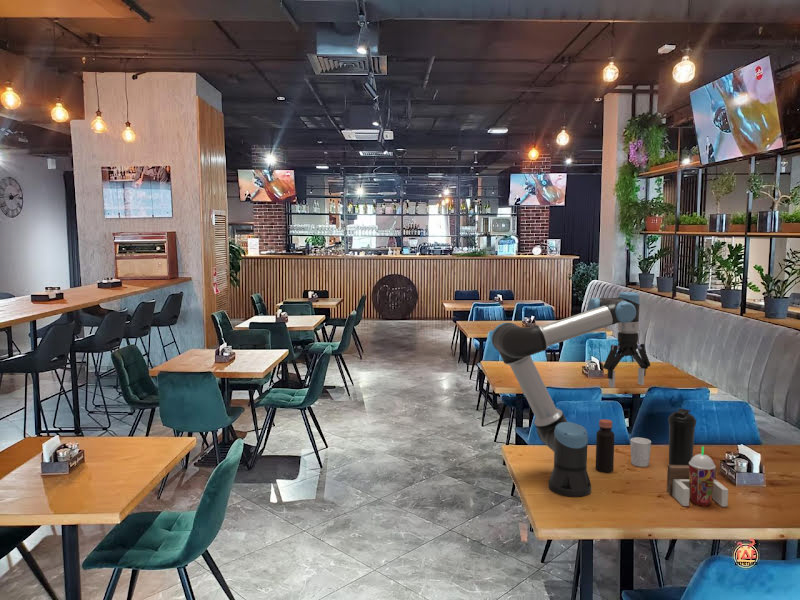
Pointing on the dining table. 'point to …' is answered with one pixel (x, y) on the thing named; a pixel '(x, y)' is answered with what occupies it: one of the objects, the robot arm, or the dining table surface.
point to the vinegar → (605, 447)
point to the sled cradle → (683, 492)
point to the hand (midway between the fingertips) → (626, 385)
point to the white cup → (640, 451)
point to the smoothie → (701, 478)
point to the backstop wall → (678, 475)
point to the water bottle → (681, 437)
